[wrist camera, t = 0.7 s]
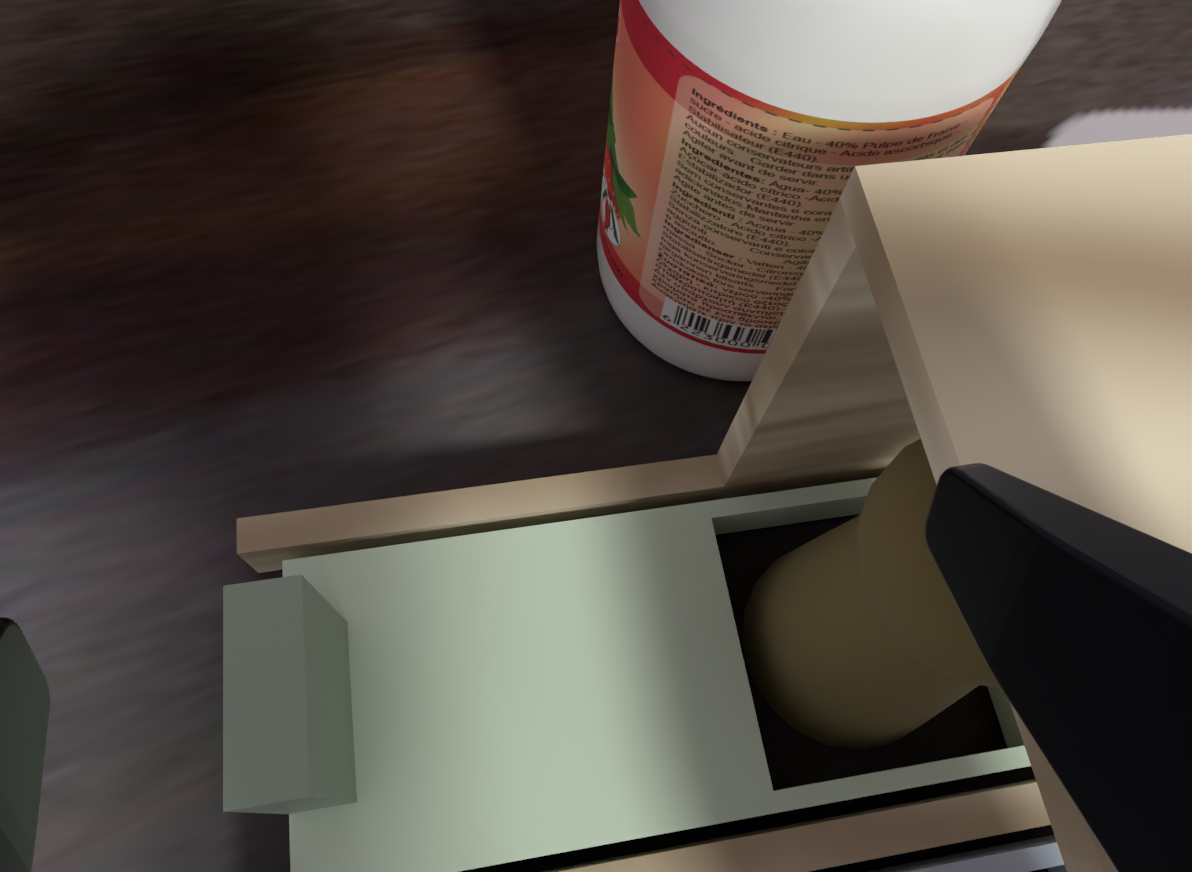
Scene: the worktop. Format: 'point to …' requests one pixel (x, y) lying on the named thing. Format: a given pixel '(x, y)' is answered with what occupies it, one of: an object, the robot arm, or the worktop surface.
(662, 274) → the fruit juice
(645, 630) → the pale green tray
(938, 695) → the olive rounded upright piece
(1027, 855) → the blue-grey tray
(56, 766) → the worktop surface
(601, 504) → the board
